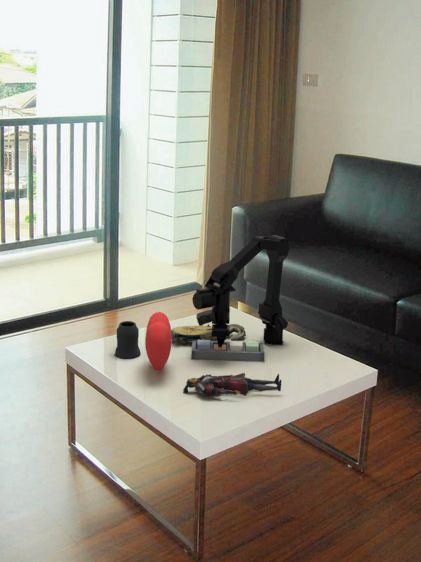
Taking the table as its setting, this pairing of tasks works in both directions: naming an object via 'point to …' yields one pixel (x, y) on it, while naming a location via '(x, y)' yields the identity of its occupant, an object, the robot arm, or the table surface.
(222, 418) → the table surface
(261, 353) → the gray cubby shelf
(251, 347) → the key sage
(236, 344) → the key cream
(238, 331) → the pulley block
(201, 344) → the key blue
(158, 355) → the heart
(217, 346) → the key terracotta
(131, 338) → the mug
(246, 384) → the figurine
